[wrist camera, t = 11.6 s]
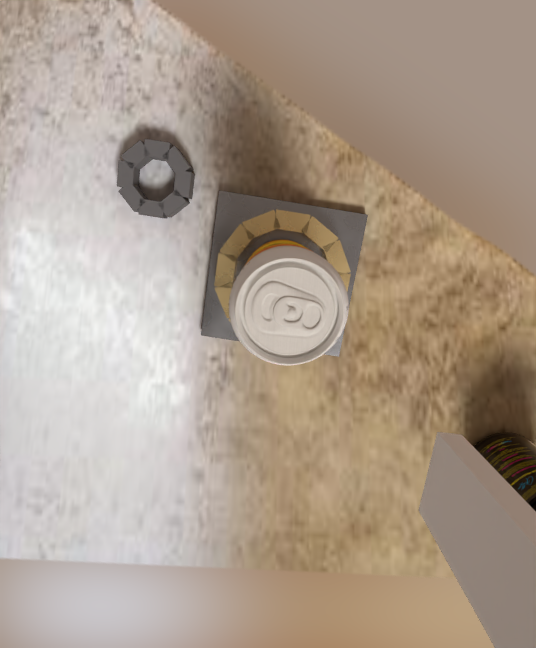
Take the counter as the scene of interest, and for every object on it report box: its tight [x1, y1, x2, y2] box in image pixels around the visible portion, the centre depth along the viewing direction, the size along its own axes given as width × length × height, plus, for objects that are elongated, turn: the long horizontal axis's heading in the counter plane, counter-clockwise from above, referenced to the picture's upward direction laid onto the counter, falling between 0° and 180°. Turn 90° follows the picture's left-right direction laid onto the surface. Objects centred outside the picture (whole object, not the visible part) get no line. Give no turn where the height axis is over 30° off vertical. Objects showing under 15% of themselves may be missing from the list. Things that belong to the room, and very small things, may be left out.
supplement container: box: [474, 433, 536, 511], centre depth 34 cm, size 7×7×10 cm
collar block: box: [201, 190, 368, 356], centre depth 34 cm, size 12×12×3 cm
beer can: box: [229, 240, 349, 365], centre depth 28 cm, size 6×6×15 cm
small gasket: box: [117, 139, 195, 218], centre depth 33 cm, size 6×6×2 cm
